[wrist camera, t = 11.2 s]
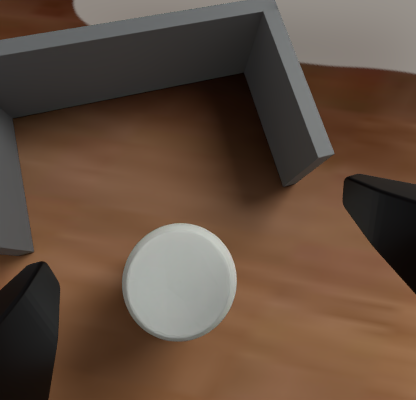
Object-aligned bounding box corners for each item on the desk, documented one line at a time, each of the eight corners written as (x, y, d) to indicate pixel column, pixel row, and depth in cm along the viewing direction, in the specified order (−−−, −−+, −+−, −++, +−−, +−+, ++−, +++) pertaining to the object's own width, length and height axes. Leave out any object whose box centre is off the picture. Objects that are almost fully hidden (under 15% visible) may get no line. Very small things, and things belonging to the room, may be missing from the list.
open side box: (295, 183, 23) (334, 153, 17) (18, 255, 20) (-49, 249, 14) (251, 59, 25) (273, -4, 19) (-4, 109, 22) (-70, 51, 16)
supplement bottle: (207, 228, 22) (227, 196, 12) (229, 304, 20) (271, 331, 11) (132, 250, 21) (92, 233, 11) (151, 330, 20) (125, 382, 10)
